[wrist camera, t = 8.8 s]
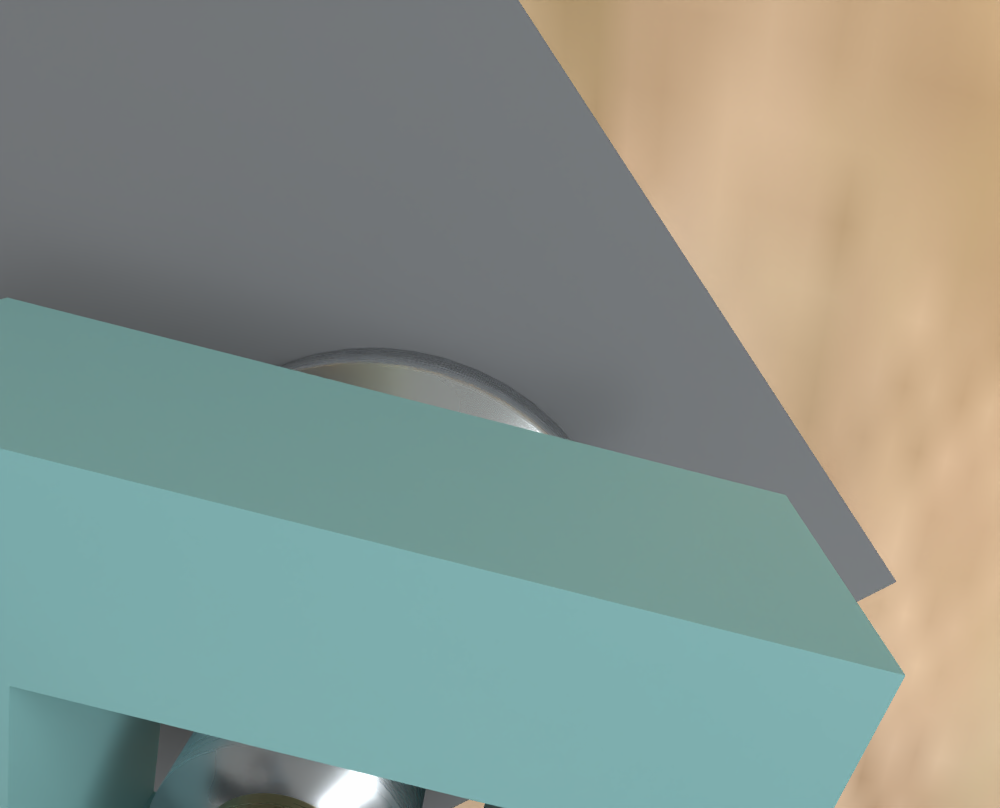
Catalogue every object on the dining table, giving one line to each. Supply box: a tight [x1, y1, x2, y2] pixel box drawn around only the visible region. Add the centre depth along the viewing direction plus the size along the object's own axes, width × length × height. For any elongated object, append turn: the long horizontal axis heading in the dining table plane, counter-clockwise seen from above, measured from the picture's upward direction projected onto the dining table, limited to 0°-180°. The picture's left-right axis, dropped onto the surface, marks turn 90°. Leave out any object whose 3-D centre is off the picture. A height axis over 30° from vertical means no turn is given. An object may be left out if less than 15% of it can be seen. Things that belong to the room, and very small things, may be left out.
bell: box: [150, 348, 570, 808], centre depth 10 cm, size 8×8×6 cm
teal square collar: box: [0, 298, 905, 808], centre depth 8 cm, size 9×9×3 cm
